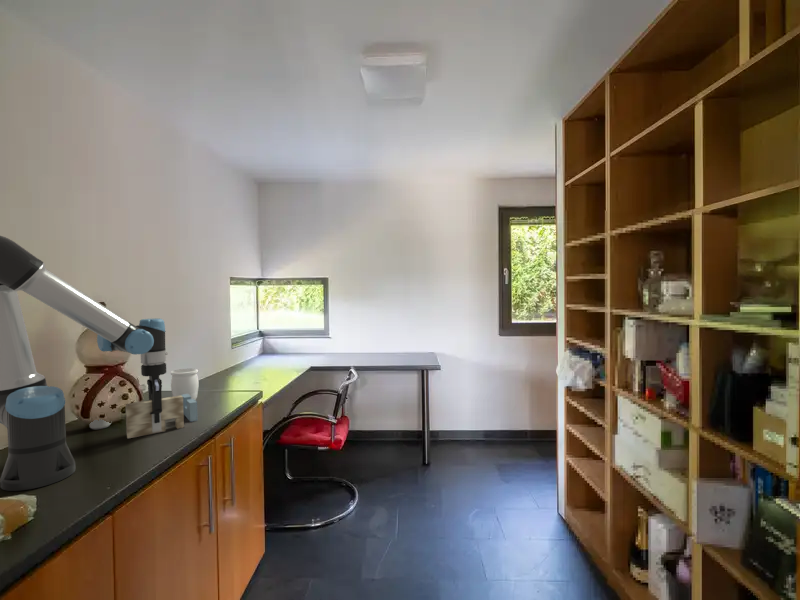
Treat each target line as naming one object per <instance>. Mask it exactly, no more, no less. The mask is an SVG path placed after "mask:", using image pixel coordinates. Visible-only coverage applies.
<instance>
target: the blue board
mask: <svg viewBox="0 0 800 600" xmlns="http://www.w3.org/2000/svg"><path fill="white" fill-rule="evenodd" d="M181 396H182V397H183V414H184V417H186V418H187V420H188V421H189V422H190V423H191V422H197V421H198V420H199V419H198V418H199V417H198V415H199V414H198V401H197V400H194V399H191V396H190V395H189V394H183V395H181Z"/></svg>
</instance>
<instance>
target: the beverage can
mask: <svg viewBox="0 0 800 600" xmlns="http://www.w3.org/2000/svg"><path fill="white" fill-rule="evenodd" d="M111 424H112V422H111V423H109V422H106V421H104V420H102V419H101V420H100V419H99V421H98V420H94V421H93V422H91V423H90V424H89V423H88V425H89V428H90V429H91V430H102V429H106V428H108V427H110V425H111Z"/></svg>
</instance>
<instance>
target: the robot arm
mask: <svg viewBox="0 0 800 600" xmlns="http://www.w3.org/2000/svg"><path fill="white" fill-rule="evenodd" d="M18 291H19V292H20V291H22V292H24V293H26V294H28V295H30V296H31V297H33V298H35V299H36V300H38V301H40V302H41V303H43V304H44V305H47V306H48V307H50V308H51V309H53V310H55V311H57V312H59V313H60V314H61V315H64V316H65V317H67V318H69V319H71V320H72V321H73V322H76V323H77V324H79V325H81V326H82V327H84V328H86V329H88V330H89V331H91V332H93V333H95V334H96V335H97V336H96V340H97V341H96V343H97V347H98V349H99V350H100V351H101V352H105V353H106V352H115V351H119V352H124V353H129V354H131V355H140V364H141V366H140V374H141V376H142V377H148V379H147V380H146V384H147V391H148V400H152V412H151V413H150V415H151V414H152V433H154V432H159V431H162V429H161V412H162V391H163V390H162V388H163V385H162V384H163V381H162V379H161V378H160V376H162V375H164V374H167V363H166V361H167V355H168V352H166V325H165V321H164V319H163V318H144V319H140V320H139V323H138V325H135V324H133V323H131V321H130V322H129V321H128V320H127V319H125V318H124V317H122V316H121V315H119V314H117V313H116V312H114V311H113V310H111V309H110V308H108V307H107V306H105V305H103V304H101V303H100V302H99V301H98V300H96V299H95V298H93V297H91V296H90V295H87V294H86V293H85V292H83V291H81V290H80V289H78V288H77V287H76V286H74V285H72V284H71V283H69V282H68V281H66V280H65V279H63V278H62V277H60V276H58V275H57V274H55V273H53V272H52V271H50V270H48V269H47V268H46V263H45V262H44V261H42V260H41V259H39V258H38V257H36V256H35V255H33V254H32V253H30V251H28V250H26V249H25V248H24V247H22V246H21V245H20V244H18V243H16V241H14V240H13V239H10V238H8V237H6V236H2V235H0V424H1V425H3V426H4V427H5V428H6V429H7V450H8V456H7V458H6V460H5V464H4V467H3V470H2V473H1V476H0V489H1V490H3V491H7V492H8V491H9V492H19V491H27V490H28V491H29V490H32V489H38V488H42V487H46V486H49V485H53V484H56V483H58V482H60V481H63V480H65V479H66V478H68V477H70V476H71V475H73V474H75V471H76V460H75V458H74V456H73V454H72V453H71V450H70V448H69V445H68V444H67V432H66V430H67V428H66V405H65V404H66V398H65V393H64V391H63V389H61V388H60V387H57V386H52V385H51V386H48V383H47V380H46V376H45V375H43V374H42V373H39V372H38V371H37V368H36V364H35V359H34V356H33V352H32V351H33V350H32V348H31V347H32V346H31V343H30V339H29V335H28V331H27V326H26V324H25V323H26V322H25V318H24V315H23V310H22V305H21V302H20V298H19V293H18ZM159 433H160V432H159ZM154 434H155V433H154Z"/></svg>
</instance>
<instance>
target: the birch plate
mask: <svg viewBox="0 0 800 600" xmlns="http://www.w3.org/2000/svg"><path fill="white" fill-rule="evenodd" d="M151 412H152V400H149V399H148V400H143V401H136V402H130V403H125V422H126V423H125V425H126V438H127V439H131V438H133V439H134V438H137V437H142V436H147V435H153V434H158V433H163V432H166V420H171V419H174V420H175V428H176V429H177V430H178V429H183V428H185V421H184V418H185V415H184V414H183V397H182V396H181V395H180V396H174V397H173V396H168V397H163V398H162V412H161V429H162V431H159V432H154V433H152V414H151V415H150V413H151Z"/></svg>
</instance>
